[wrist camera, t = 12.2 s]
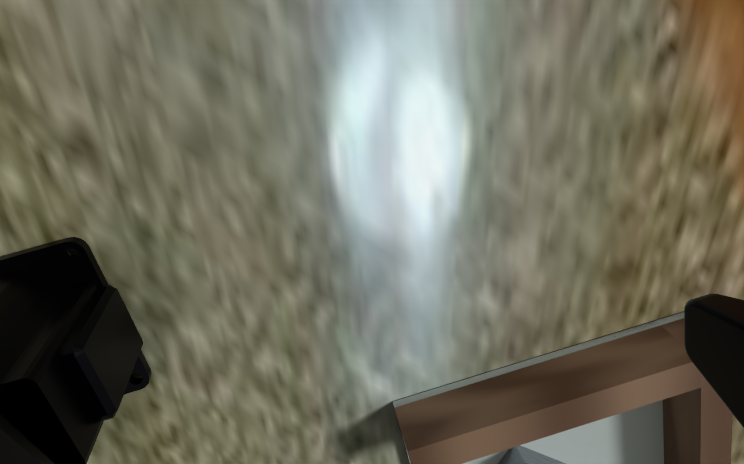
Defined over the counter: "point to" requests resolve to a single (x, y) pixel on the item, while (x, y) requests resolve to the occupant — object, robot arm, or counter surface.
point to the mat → (593, 440)
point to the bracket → (526, 457)
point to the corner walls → (576, 402)
